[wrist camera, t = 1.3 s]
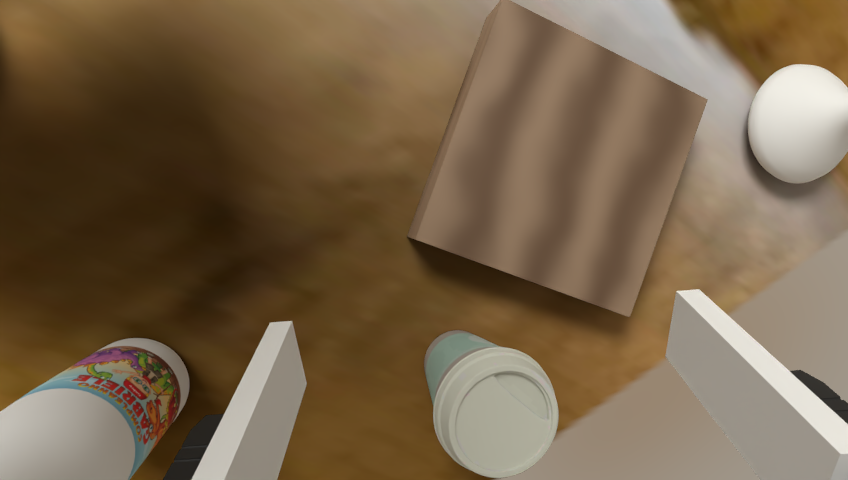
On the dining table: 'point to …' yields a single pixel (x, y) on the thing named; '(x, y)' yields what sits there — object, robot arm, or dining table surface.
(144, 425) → the milk bottle
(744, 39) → the dining table surface
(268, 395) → the robot arm
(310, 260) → the dining table surface
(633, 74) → the walnut base
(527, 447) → the coffee cup
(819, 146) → the flower in vase
